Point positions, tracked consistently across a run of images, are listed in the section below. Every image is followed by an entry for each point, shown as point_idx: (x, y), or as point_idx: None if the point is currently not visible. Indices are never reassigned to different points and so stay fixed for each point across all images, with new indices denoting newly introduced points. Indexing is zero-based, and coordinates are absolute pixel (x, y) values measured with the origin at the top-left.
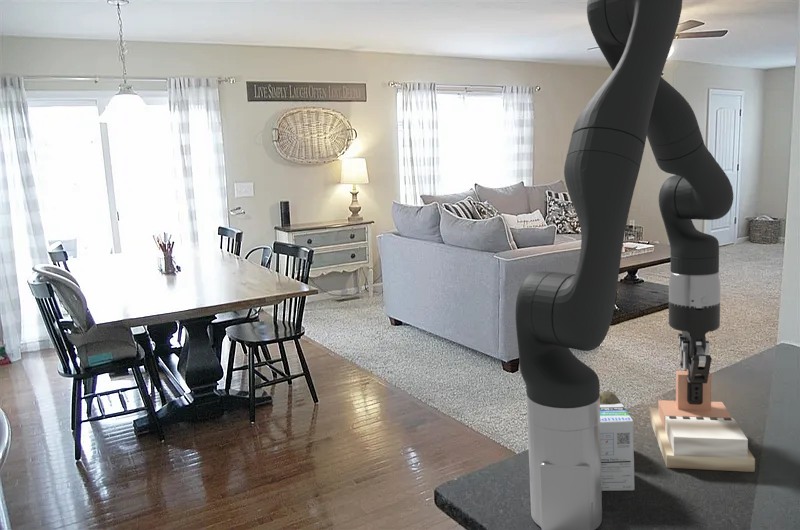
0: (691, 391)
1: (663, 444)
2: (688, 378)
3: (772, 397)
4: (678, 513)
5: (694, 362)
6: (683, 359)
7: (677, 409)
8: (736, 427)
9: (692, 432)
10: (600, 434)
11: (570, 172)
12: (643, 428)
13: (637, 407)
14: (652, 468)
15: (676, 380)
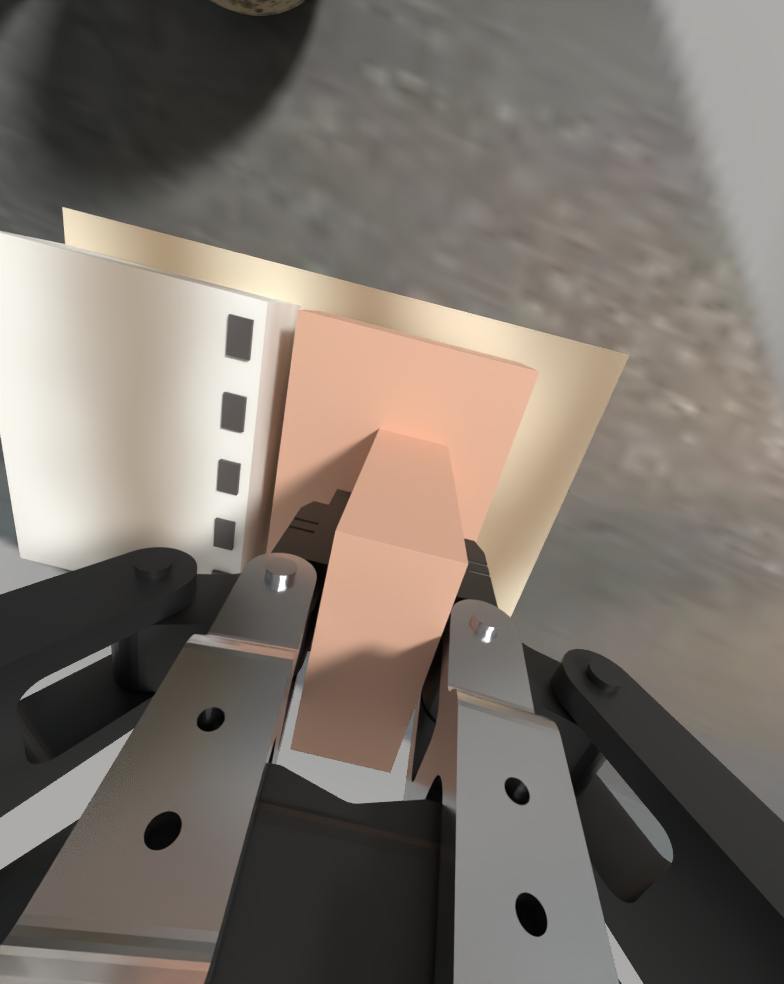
0: (290, 535)
1: (179, 241)
2: (241, 576)
3: (617, 799)
4: None
5: None
6: (269, 737)
7: (376, 424)
8: None
9: (49, 361)
10: None
11: None
12: (504, 272)
13: (758, 343)
14: (95, 145)
15: (430, 509)
